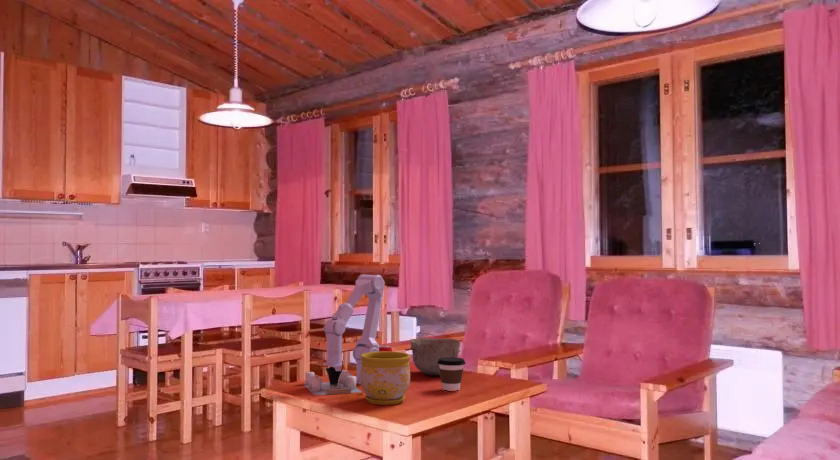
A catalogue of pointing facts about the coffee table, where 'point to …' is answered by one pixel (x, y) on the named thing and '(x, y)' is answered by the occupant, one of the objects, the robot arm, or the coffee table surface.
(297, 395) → the coffee table surface
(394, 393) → the flowerpot
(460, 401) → the coffee table surface
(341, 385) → the hexagonal block with ball
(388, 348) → the beverage can
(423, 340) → the bowl
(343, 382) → the spacer board
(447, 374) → the coffee cup
